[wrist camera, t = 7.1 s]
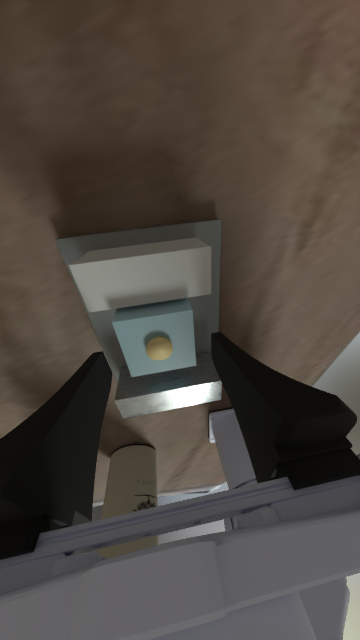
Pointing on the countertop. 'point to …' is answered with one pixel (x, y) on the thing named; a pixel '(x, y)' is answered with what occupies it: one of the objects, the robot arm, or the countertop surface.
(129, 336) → the housing
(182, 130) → the countertop surface
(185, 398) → the block
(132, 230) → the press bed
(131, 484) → the travel mug
